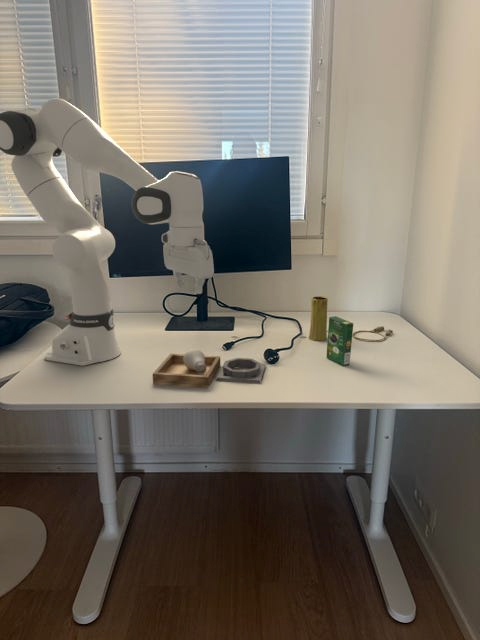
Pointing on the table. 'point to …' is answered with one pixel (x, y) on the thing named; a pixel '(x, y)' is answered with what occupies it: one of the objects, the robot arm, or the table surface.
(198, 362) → the lightbulb
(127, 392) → the table surface
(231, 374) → the socket
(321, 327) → the vase
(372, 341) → the extension cord
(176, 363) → the tray
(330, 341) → the coffee box
